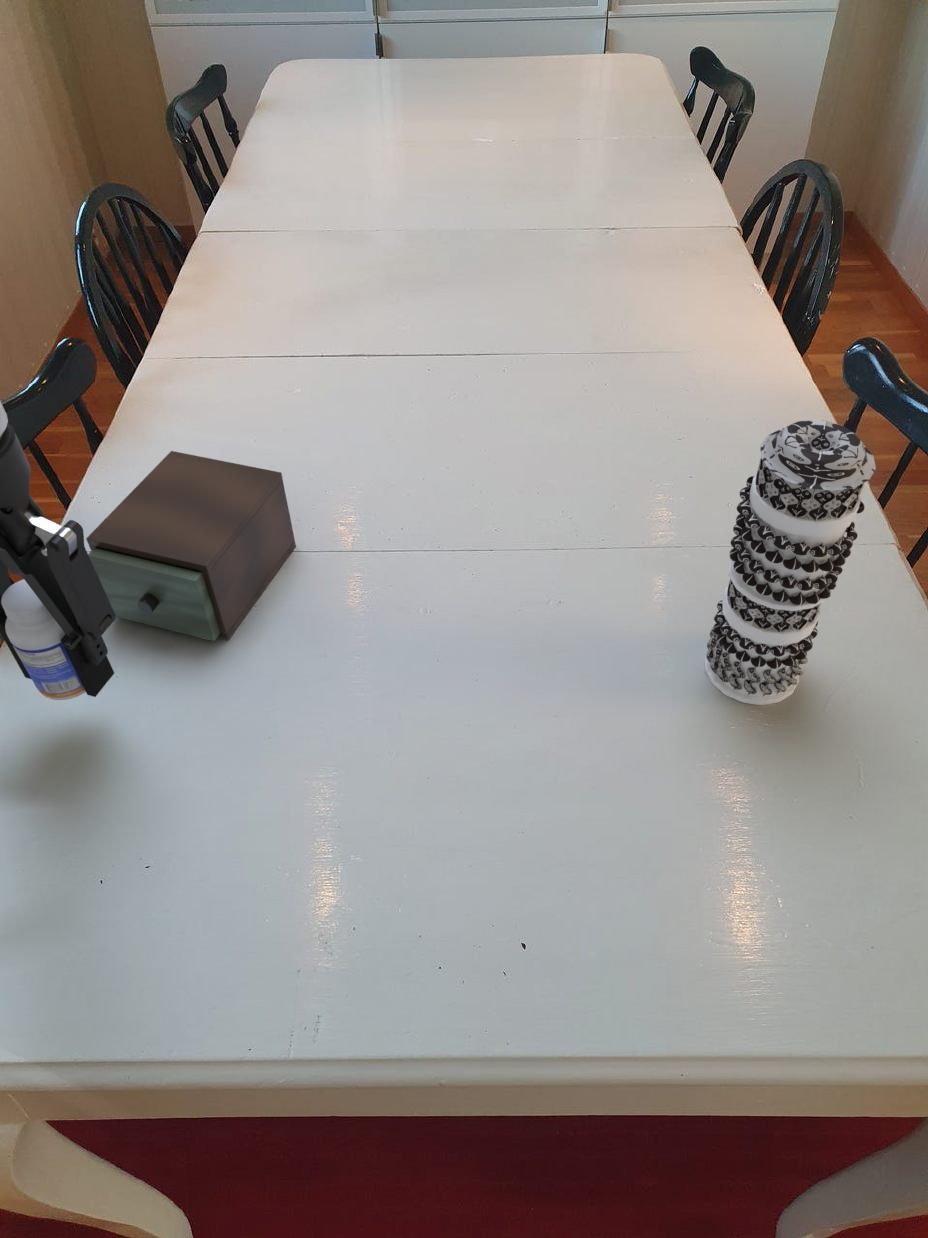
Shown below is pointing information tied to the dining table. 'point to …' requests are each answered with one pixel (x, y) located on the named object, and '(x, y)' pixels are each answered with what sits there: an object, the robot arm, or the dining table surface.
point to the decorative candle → (786, 557)
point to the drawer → (156, 593)
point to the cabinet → (207, 528)
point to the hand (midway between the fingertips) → (69, 675)
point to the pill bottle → (39, 643)
